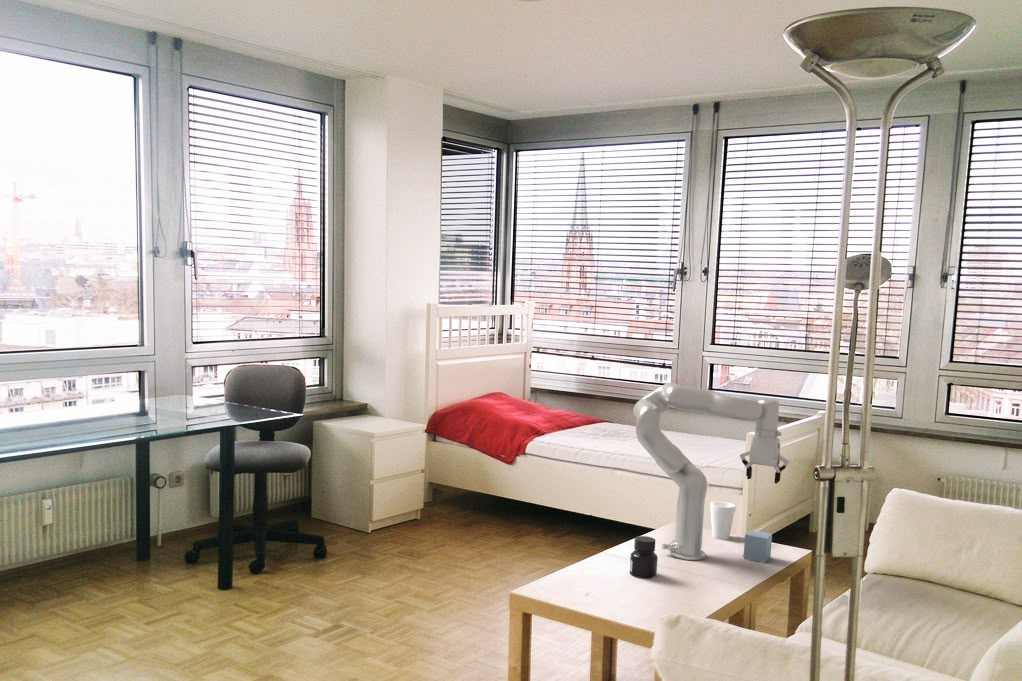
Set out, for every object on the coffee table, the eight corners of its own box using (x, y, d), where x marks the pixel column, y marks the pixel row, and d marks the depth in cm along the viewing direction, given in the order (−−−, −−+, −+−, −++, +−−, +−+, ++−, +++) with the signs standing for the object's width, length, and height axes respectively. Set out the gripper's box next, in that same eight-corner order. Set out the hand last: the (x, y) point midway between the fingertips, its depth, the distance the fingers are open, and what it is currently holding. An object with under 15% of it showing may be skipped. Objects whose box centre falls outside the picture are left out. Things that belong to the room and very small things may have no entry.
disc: (752, 563, 300) (752, 562, 300) (737, 554, 310) (737, 553, 310) (777, 562, 303) (777, 561, 303) (762, 553, 312) (762, 552, 312)
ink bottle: (640, 568, 289) (642, 533, 288) (662, 575, 283) (664, 539, 282) (623, 574, 282) (625, 538, 281) (645, 581, 276) (648, 545, 275)
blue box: (765, 563, 301) (766, 538, 301) (743, 558, 305) (745, 534, 304) (770, 557, 308) (772, 533, 307) (749, 553, 312) (750, 529, 311)
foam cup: (703, 534, 333) (705, 502, 333) (722, 532, 337) (724, 500, 337) (719, 541, 325) (721, 508, 324) (738, 539, 329) (740, 506, 328)
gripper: (793, 435, 303) (789, 482, 304) (744, 429, 311) (741, 475, 312) (788, 438, 296) (785, 486, 297) (739, 431, 305) (735, 478, 306)
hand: (762, 480), depth 305 cm, fingers open, 9 cm apart
